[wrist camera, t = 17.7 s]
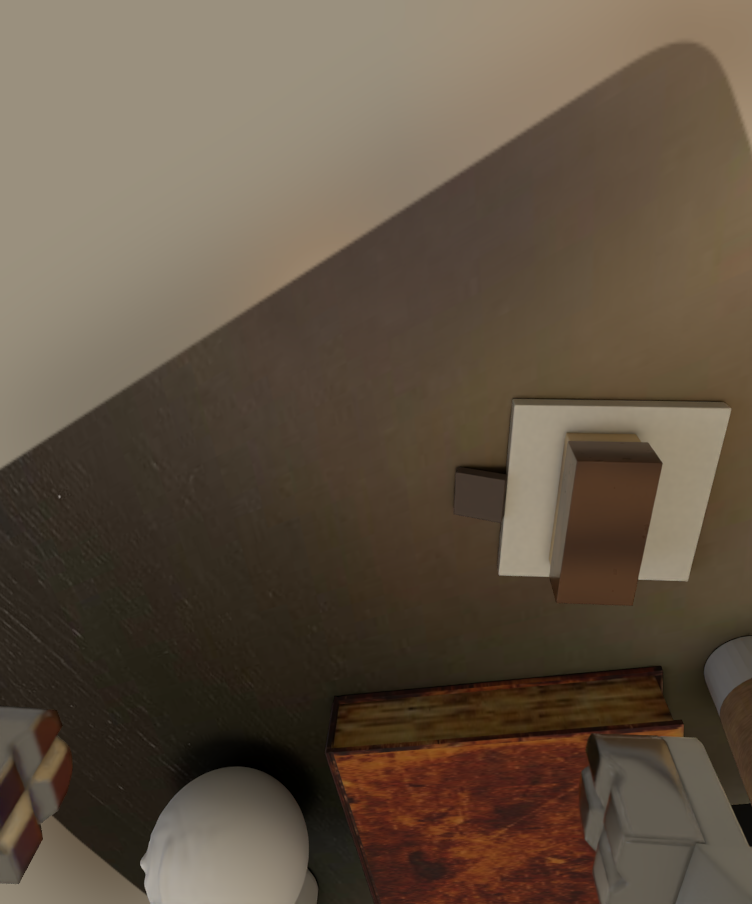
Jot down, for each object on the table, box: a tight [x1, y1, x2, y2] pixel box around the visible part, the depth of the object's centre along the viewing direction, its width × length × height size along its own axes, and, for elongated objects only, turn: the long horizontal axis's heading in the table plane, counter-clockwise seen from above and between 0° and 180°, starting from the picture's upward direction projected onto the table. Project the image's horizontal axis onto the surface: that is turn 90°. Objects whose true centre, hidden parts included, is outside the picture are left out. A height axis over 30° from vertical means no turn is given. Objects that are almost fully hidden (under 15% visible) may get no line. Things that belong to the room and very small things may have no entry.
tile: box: [497, 399, 731, 581], centre depth 40 cm, size 12×12×1 cm
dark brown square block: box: [454, 467, 507, 523], centre depth 40 cm, size 3×3×1 cm
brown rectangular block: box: [549, 433, 663, 606], centre depth 38 cm, size 9×4×4 cm, turn 0°
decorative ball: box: [140, 767, 309, 904], centre depth 50 cm, size 12×12×12 cm
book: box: [325, 666, 684, 904], centre depth 53 cm, size 30×24×5 cm
